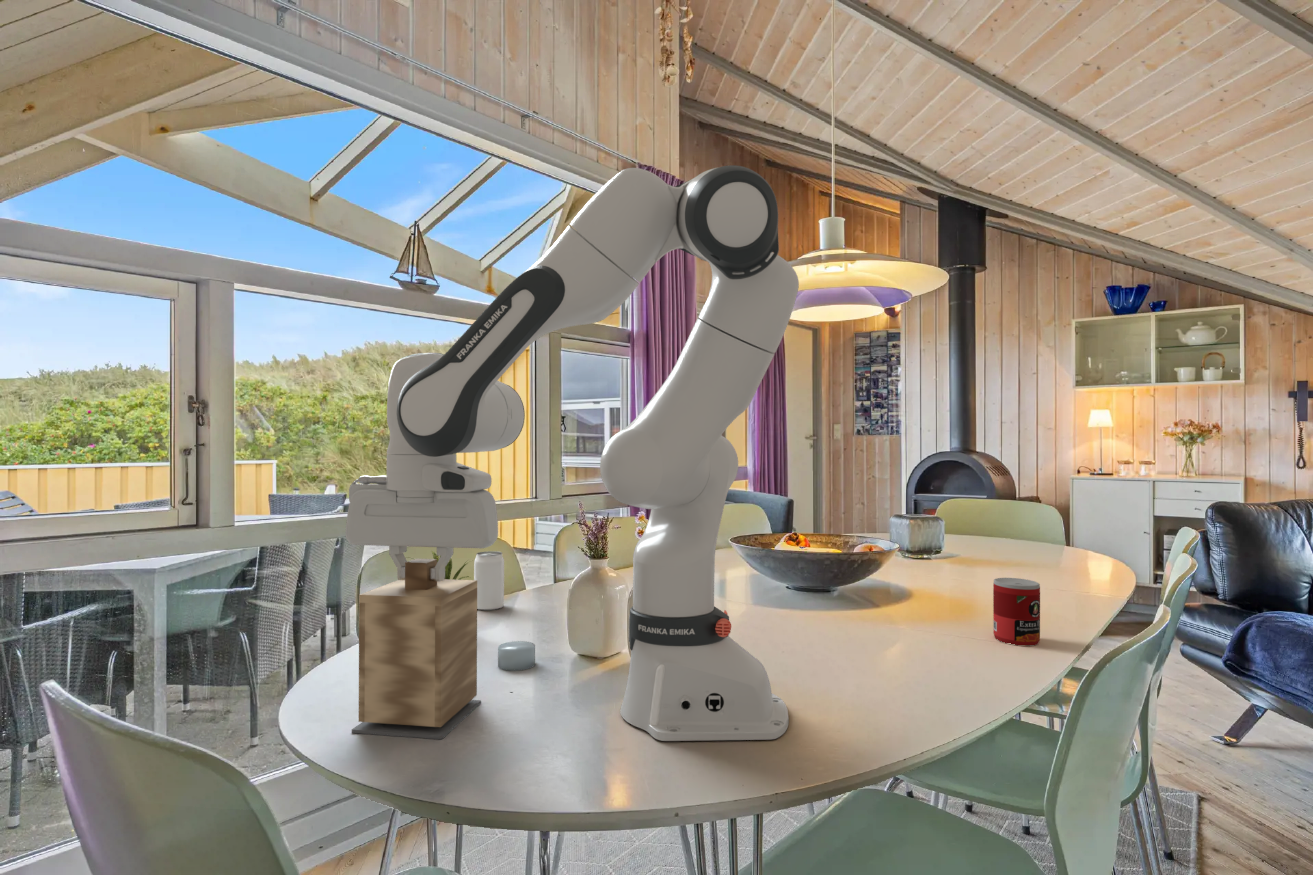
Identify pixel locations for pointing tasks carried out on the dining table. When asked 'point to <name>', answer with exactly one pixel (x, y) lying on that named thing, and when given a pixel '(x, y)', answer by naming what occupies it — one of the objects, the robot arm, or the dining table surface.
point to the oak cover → (417, 648)
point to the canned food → (1016, 611)
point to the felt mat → (417, 730)
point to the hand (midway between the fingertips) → (421, 580)
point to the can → (489, 580)
